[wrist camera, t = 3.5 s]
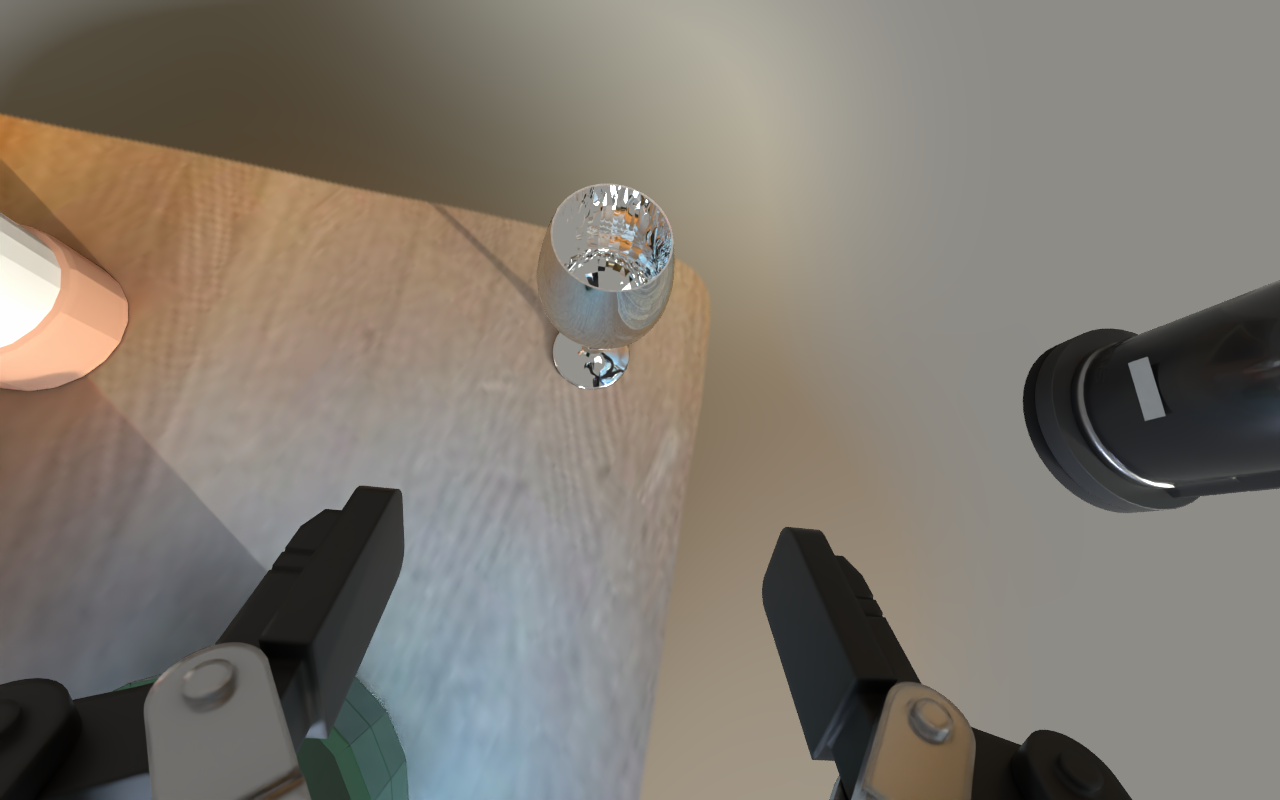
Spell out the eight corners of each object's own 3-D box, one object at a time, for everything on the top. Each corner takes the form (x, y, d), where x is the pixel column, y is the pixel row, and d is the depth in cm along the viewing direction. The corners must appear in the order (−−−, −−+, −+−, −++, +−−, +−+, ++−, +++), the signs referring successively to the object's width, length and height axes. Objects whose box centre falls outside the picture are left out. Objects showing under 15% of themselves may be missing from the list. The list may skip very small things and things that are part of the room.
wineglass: (657, 375, 32) (715, 272, 21) (568, 417, 31) (578, 330, 19) (612, 293, 33) (643, 152, 22) (524, 330, 32) (508, 199, 20)
